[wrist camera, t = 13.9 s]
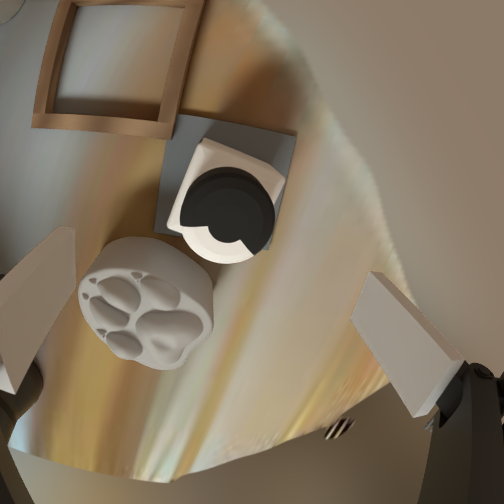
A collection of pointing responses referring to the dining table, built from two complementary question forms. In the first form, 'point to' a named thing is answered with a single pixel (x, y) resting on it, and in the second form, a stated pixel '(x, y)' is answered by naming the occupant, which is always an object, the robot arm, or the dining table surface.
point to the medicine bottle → (226, 203)
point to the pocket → (159, 129)
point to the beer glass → (9, 9)
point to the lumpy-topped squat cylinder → (147, 301)
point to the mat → (229, 134)
